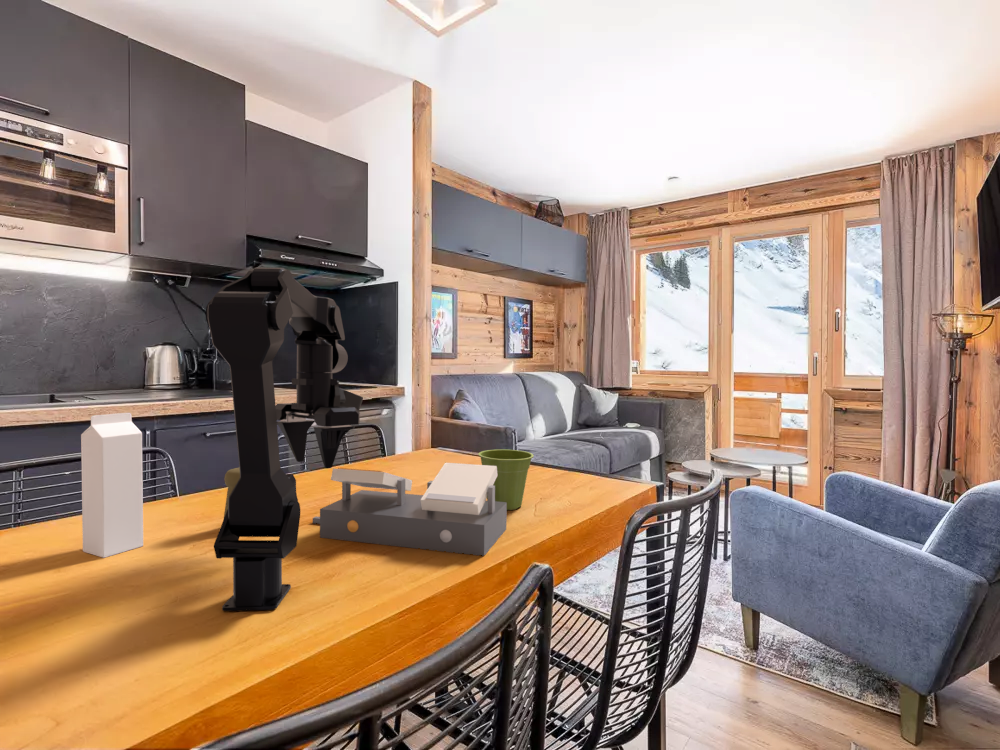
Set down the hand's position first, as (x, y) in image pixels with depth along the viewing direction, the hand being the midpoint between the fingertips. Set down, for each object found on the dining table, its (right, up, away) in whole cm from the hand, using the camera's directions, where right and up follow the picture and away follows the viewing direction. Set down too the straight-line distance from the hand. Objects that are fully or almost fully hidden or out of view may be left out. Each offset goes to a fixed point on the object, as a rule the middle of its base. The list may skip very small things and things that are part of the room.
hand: (313, 464), depth 90 cm
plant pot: (+33, -13, +23) cm, 42 cm away
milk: (-31, -13, -4) cm, 34 cm away
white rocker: (+25, -4, +3) cm, 25 cm away
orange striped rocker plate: (+8, -4, +7) cm, 12 cm away
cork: (-16, -13, +7) cm, 22 cm away
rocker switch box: (+13, -13, +6) cm, 20 cm away
